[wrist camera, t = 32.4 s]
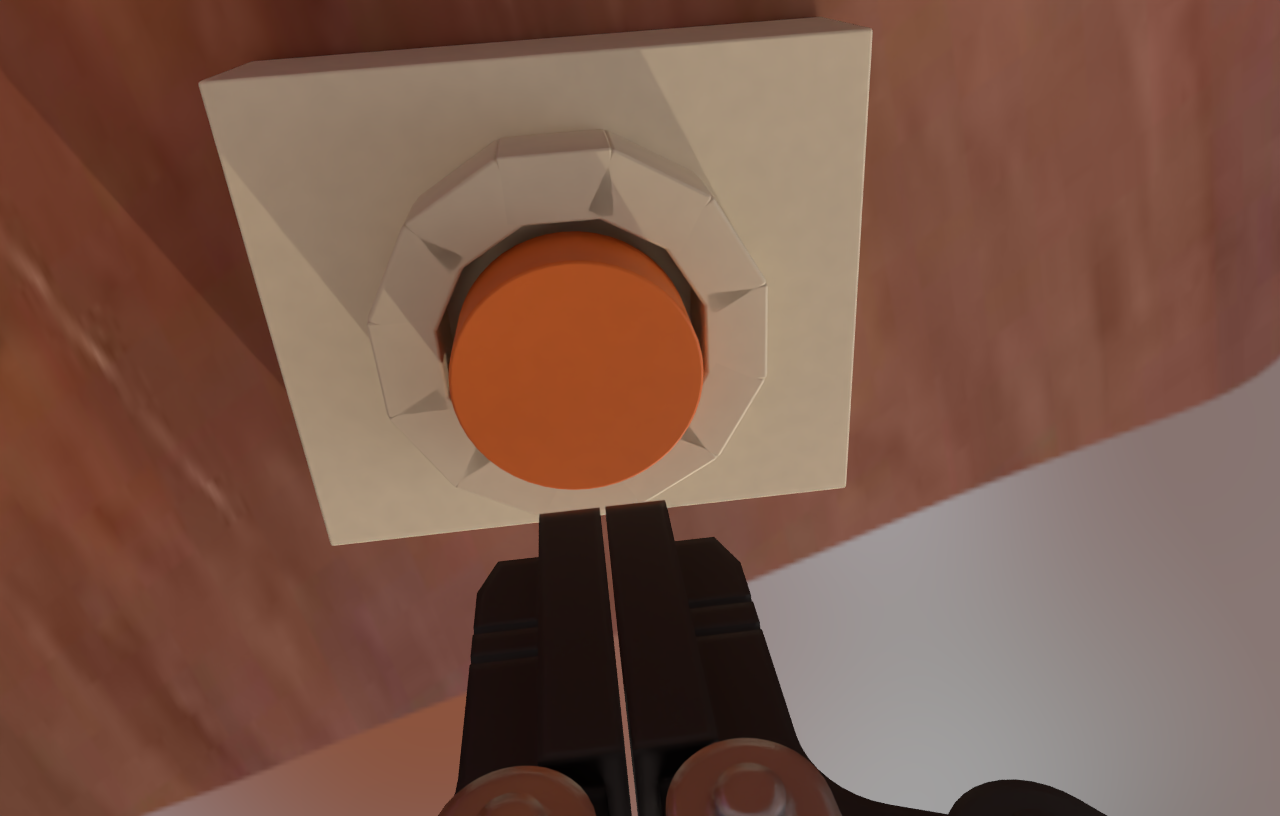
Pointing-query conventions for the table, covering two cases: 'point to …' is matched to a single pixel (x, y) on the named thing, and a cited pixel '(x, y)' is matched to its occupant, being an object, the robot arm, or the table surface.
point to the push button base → (543, 204)
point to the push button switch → (574, 362)
